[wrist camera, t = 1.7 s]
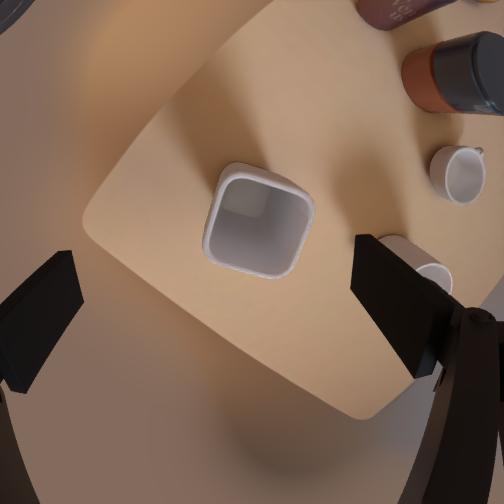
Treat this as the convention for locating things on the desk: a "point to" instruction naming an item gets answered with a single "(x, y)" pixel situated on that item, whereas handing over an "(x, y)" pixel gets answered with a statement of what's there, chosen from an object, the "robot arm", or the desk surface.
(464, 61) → the tumbler stack
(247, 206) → the cup
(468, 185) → the teacup
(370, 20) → the beverage can
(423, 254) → the mug
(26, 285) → the robot arm
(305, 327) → the desk surface
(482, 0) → the apple
